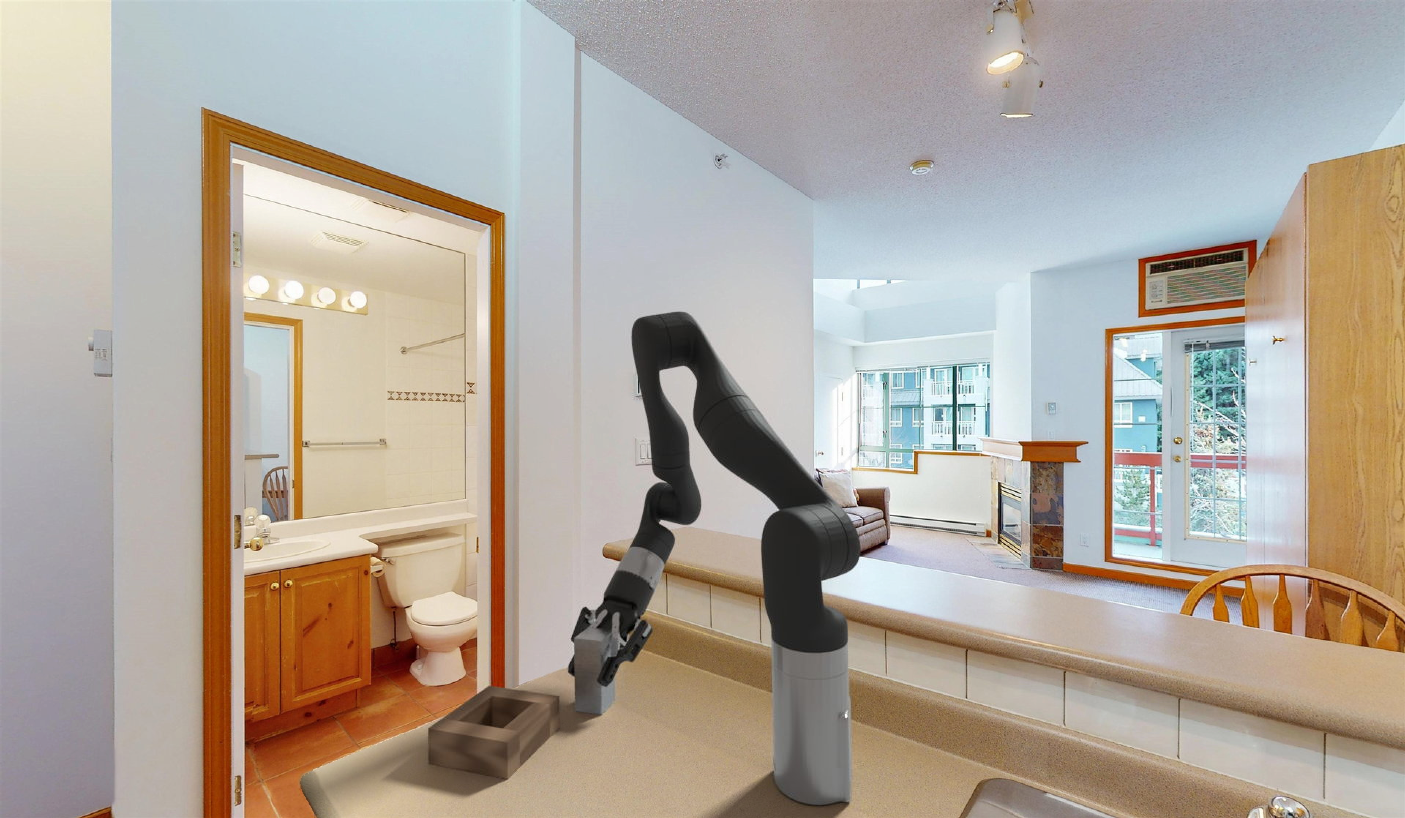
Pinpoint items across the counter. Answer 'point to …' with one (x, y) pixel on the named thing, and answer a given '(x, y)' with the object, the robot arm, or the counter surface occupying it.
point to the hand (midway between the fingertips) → (587, 679)
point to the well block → (494, 731)
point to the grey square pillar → (592, 671)
